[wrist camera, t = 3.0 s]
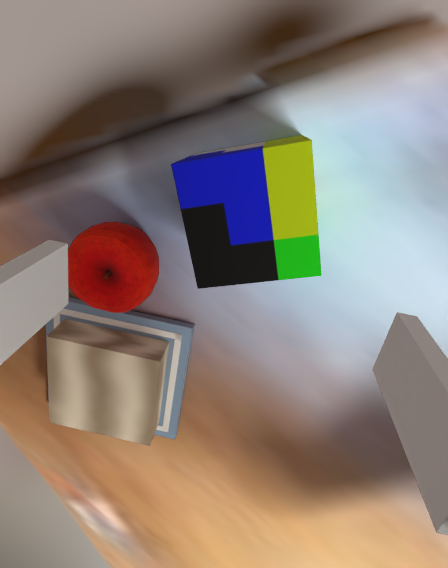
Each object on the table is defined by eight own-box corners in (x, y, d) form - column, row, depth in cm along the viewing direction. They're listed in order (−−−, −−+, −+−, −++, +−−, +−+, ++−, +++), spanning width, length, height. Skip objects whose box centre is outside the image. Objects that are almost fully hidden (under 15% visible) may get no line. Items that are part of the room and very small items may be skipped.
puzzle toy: (197, 153, 36) (171, 164, 27) (301, 134, 34) (311, 140, 25) (215, 250, 40) (197, 288, 31) (310, 238, 38) (321, 275, 29)
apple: (117, 296, 43) (86, 331, 36) (78, 228, 41) (37, 251, 33) (184, 272, 41) (165, 304, 34) (148, 198, 38) (119, 216, 31)
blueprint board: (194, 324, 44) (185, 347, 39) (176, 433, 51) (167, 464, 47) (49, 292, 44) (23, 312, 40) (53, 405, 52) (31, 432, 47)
